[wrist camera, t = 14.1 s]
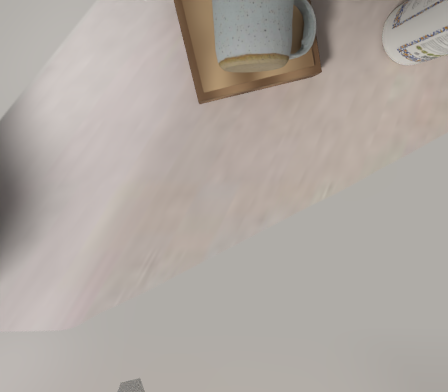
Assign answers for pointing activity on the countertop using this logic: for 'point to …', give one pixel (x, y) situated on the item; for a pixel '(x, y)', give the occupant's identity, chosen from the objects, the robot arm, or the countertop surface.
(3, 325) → the countertop surface
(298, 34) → the walnut base
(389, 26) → the bath foam
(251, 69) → the ceramic mug
